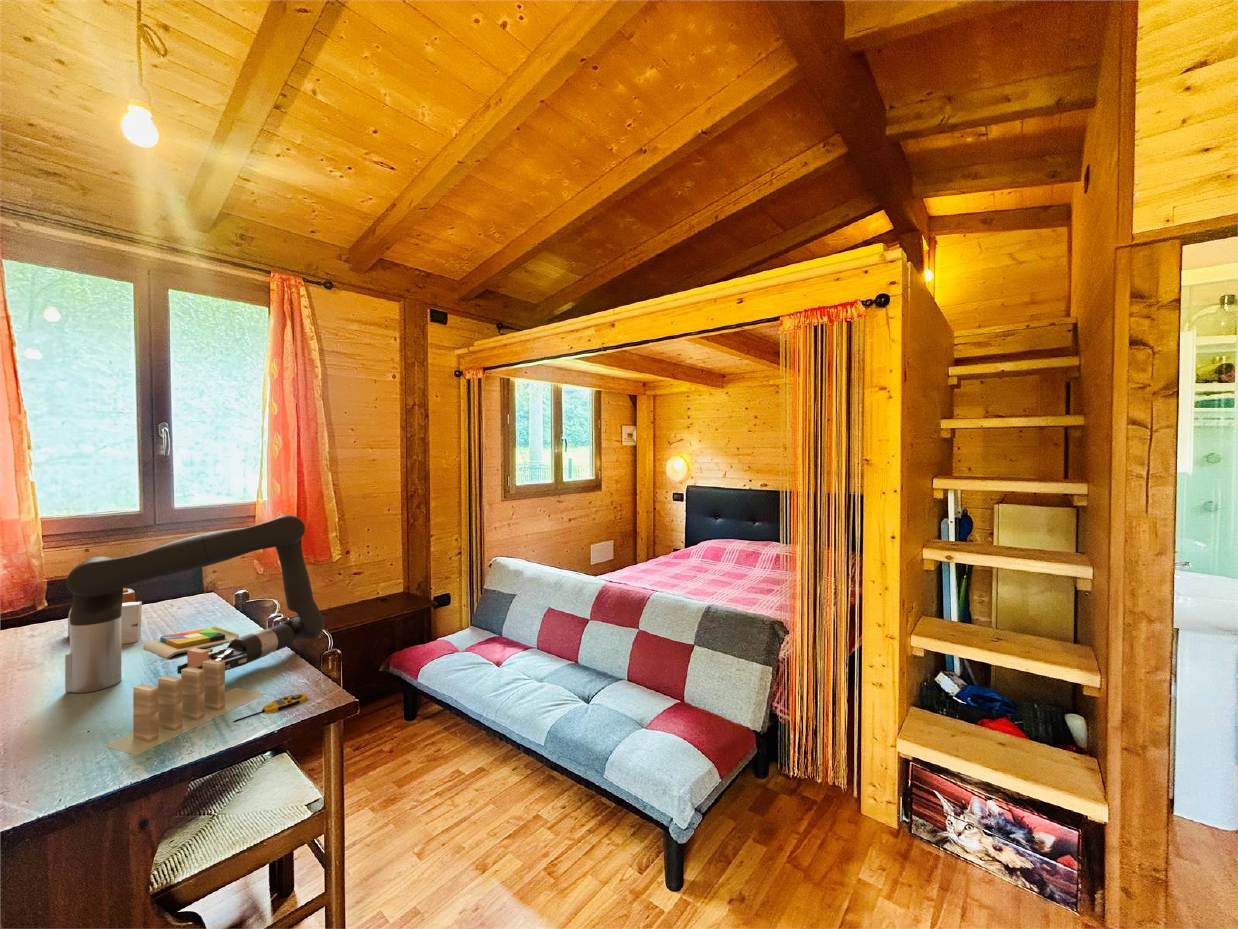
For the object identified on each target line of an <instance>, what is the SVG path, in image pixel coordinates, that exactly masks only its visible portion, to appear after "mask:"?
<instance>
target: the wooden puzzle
mask: <svg viewBox="0 0 1238 929" xmlns="http://www.w3.org/2000/svg"><path fill="white" fill-rule="evenodd" d="M239 636H240V634H238V633H237V632H233V631H231V630H228V629H225V628H222V627H218V626H215V625H213V626H212V627H211V628H208V627H206V628H201V629H195V630H191V631H185V632H178V633H172V634H165V635H162V636H160V639H154V640H150V641H147V642H145V644H144V645H143V647H142V649H143V650H145V651H147V650H148V651H147V652H149V651H150V653H151V652H152V654H154V655H156V654H157V655H156V656H158V657H161V658H163V657H164V658H163V659H165V658H166V659H165V660H168V658H169V659H171V658H172V657H174V656H175V655H179V654H184V653H187V650H190V649H193V648H198V649H206V648H207V649H209V648H212V647H216V645H217V646H220V645H219V644H221V645H224V644H223V643H225V644H228V643H230V642H229V641H232V640H234V639H237V638H239ZM227 642H228V643H227Z"/></svg>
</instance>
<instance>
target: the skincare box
mask: <svg viewBox="0 0 1238 929" xmlns="http://www.w3.org/2000/svg"><path fill="white" fill-rule="evenodd" d="M142 607H143V602H142V601H135V602H129V603H122V611H121V645H122V644H123V645H124V644H129V643H136V642H138V641H140V639H141V636H142V635H141V634H142V613H143V612H142Z"/></svg>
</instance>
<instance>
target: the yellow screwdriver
mask: <svg viewBox="0 0 1238 929" xmlns="http://www.w3.org/2000/svg"><path fill="white" fill-rule="evenodd" d="M307 700H309V699H308V695H307V694H306V693H303V692H302V693H297V694H294V695H288V696H284V697H281V698H280V699H279V698H278V699H276V700H274V701H272V702H270V703H268V704H265V705H264V706H263V707H262V709H261V711H258V712H255V713H253V714H249V715H246V716H243V717H241V718H237V719H234V720H233V721H232V723H237V722H240V721H243V720H245V719H249V718H251V717H253V716H257V715H260V714H271V713H275V712H280V711H283V710H286V709H290V708H293V707H295V706H298V705H300V704H302V703H304V702H306V701H307Z"/></svg>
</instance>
